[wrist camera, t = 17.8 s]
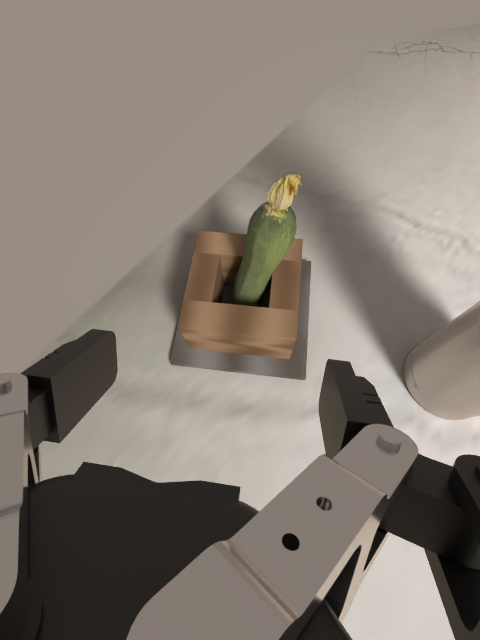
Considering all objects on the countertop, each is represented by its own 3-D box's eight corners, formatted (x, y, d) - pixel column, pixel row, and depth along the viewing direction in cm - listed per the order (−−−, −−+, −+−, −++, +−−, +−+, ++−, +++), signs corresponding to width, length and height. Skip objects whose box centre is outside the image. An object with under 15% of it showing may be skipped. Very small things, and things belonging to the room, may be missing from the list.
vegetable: (228, 294, 43) (264, 143, 26) (261, 297, 43) (317, 152, 26) (228, 323, 40) (266, 179, 23) (262, 326, 41) (324, 187, 24)
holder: (309, 265, 45) (321, 226, 38) (304, 380, 39) (316, 359, 32) (195, 255, 47) (184, 215, 39) (171, 364, 40) (153, 342, 33)
